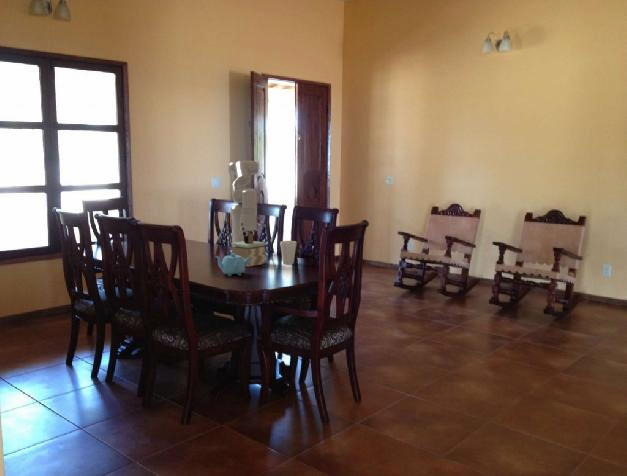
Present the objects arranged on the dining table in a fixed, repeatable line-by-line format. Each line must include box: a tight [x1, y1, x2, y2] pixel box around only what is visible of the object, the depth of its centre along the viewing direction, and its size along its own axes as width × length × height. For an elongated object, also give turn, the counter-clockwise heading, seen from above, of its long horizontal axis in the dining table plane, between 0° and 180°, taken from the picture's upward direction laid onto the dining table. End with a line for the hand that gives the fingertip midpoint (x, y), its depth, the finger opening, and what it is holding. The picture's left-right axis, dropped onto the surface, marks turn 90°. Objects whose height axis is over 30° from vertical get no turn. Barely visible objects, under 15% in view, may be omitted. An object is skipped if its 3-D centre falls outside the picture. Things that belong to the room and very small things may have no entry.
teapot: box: [214, 253, 251, 277], centre depth 289 cm, size 15×14×11 cm
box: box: [231, 245, 267, 267], centre depth 321 cm, size 14×14×10 cm
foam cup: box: [279, 240, 297, 265], centre depth 322 cm, size 10×9×13 cm
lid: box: [230, 232, 267, 249], centre depth 320 cm, size 15×15×8 cm
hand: (248, 241), depth 320 cm, fingers closed on lid, 3 cm apart
